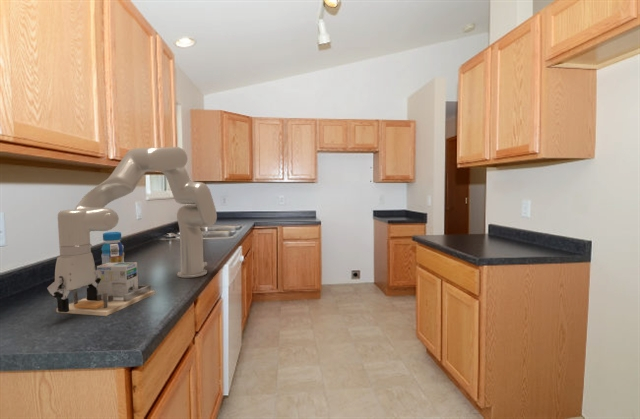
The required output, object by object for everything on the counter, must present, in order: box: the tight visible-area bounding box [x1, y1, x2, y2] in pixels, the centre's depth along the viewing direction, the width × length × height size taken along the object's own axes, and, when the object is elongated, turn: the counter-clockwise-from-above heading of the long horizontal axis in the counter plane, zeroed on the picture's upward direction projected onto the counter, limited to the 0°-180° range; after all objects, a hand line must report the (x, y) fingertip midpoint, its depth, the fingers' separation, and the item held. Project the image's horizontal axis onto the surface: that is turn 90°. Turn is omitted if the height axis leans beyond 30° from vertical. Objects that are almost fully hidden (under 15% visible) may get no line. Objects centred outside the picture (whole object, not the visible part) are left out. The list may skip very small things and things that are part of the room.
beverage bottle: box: [100, 231, 125, 265], centre depth 143 cm, size 8×8×20 cm
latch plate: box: [74, 301, 104, 309], centre depth 105 cm, size 4×8×1 cm, turn 80°
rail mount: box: [56, 284, 156, 317], centre depth 112 cm, size 22×18×6 cm
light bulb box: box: [96, 261, 139, 297], centre depth 116 cm, size 11×7×11 cm, turn 89°
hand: (78, 305), depth 101 cm, fingers open, 9 cm apart
